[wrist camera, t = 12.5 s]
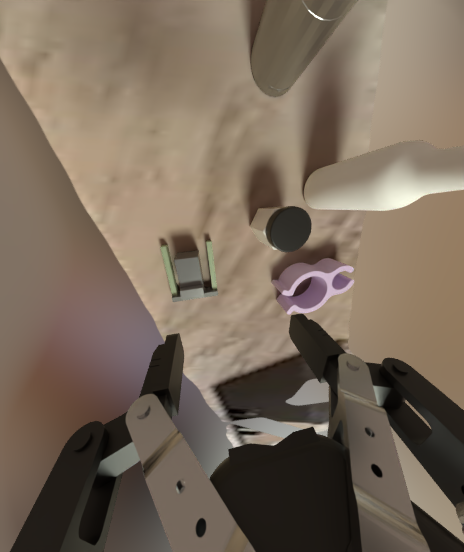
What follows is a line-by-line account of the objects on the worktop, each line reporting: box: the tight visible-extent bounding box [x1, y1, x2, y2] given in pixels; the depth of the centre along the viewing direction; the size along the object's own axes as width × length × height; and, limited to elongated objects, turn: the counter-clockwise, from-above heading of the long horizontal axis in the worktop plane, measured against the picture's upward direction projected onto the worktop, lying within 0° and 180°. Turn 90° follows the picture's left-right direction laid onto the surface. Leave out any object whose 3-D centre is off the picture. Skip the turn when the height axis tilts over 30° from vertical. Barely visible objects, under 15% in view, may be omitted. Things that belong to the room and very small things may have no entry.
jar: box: [250, 206, 311, 252], centre depth 35 cm, size 9×8×12 cm
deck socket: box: [160, 240, 218, 302], centre depth 40 cm, size 14×11×3 cm
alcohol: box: [304, 140, 464, 211], centre depth 26 cm, size 9×9×30 cm
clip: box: [272, 258, 354, 314], centre depth 46 cm, size 20×12×7 cm, turn 109°
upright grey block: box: [174, 250, 204, 301], centre depth 38 cm, size 9×5×8 cm, turn 4°
